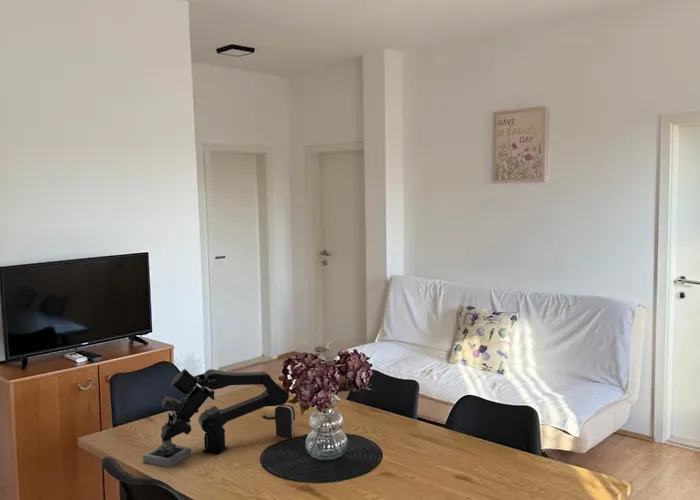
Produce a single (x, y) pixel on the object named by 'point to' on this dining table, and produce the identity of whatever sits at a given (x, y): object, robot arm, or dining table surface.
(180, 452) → the frame
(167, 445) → the grey tall tiered piece
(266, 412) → the onion
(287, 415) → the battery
